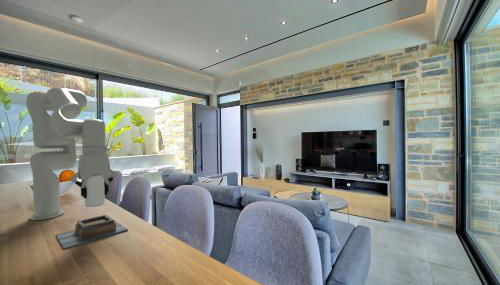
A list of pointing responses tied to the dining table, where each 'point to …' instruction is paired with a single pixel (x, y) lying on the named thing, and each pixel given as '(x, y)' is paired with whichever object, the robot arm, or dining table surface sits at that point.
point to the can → (95, 191)
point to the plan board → (77, 241)
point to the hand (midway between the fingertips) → (95, 195)
